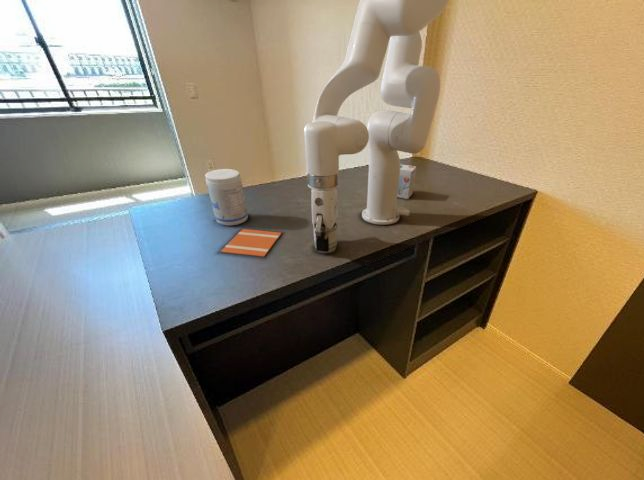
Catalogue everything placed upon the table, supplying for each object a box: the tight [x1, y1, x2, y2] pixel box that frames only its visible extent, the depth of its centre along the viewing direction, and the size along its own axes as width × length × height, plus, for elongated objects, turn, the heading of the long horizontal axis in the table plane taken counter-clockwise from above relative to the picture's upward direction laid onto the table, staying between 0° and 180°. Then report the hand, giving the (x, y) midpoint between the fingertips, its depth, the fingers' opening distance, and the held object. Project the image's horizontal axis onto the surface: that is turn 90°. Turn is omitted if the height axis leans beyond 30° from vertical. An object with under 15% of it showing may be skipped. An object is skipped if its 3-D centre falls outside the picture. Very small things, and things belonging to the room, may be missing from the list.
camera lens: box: [312, 222, 338, 254], centre depth 80 cm, size 6×6×8 cm
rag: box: [220, 228, 283, 258], centre depth 84 cm, size 12×13×1 cm
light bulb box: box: [397, 163, 417, 200], centre depth 114 cm, size 11×7×11 cm, turn 68°
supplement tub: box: [204, 168, 249, 227], centre depth 90 cm, size 10×10×15 cm
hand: (325, 243), depth 82 cm, fingers closed on camera lens, 6 cm apart
